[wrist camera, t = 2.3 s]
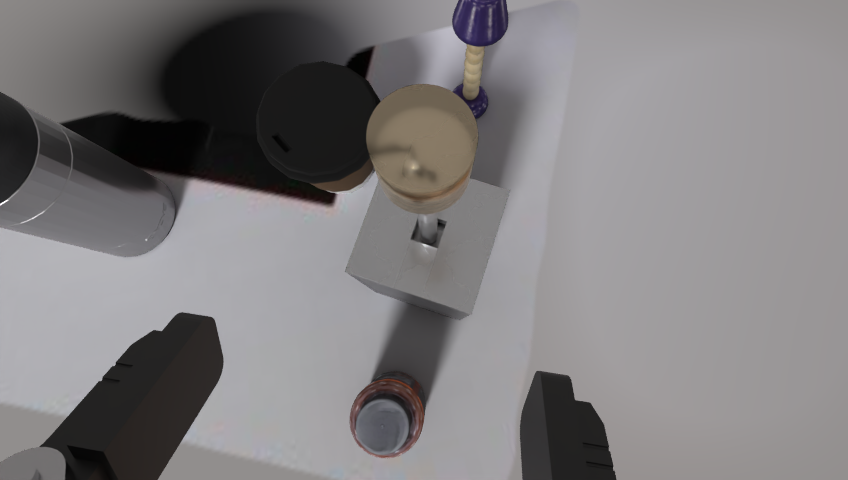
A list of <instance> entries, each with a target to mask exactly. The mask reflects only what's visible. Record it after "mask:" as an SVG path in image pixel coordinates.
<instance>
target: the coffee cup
mask: <svg viewBox="0 0 848 480" xmlns="http://www.w3.org/2000/svg"><path fill="white" fill-rule="evenodd" d="M379 103H380V100H379V98H378V96H377V95H376V93H375V92H374V90H373V88H372V87H371V85H370V83H369V82H368V81H367V80H366V79H364V78H363V77H361V76H360V75H359V74H357V73H356V72H354V71H353V70H351V69H350V68H347V67H345V66H341V65H336V64H333V63H328V62H324V61H322V62H315V63H307V64H300V65H298V66H296V67H294V68H293V69H291V70H289V71H287V72H285V73H283V74H281V75H280V76H279V77H278V78H277V79H276V80H275V81H274V82H273V83H272V84H271V86H270V87H269V88H268V89H267V90H266V91H265V93H264V95H263V98H262V101H261V103H260V106H259V109H258V112H257V116H256V126H257V141H258V143H259V144H260V146H261V148H262V150H263V152H264V154H265V156H266V157H267V159H268V161H269V162H270V163H271V164H272V165H273V166H275V167H276V168H277V169H279V170H280V171H281V172H282V173H284V174H285V175H286V176H288V177H289V178H292V179H296V180H300V181H304V182H308V183H310V184H312V185H314V186H316V187H318V188H319V189H323V190H327V191H329V192H333V193H337V194H345V193H352V192H354V191H356V190H358V189H360V188H361V187H363V186H364V185H365V184H366V182H367V181H368V180H369V179H370V178H371V175H372V172H373V169H374V166H373V163H372V160H371V158H370V155H369V152H368V148H367V142H366V132H367V126H368V122H369V119H370V117H371V115H372V113H373V111H374V110H375V108H376V107H377V105H378V104H379Z"/></svg>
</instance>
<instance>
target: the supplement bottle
mask: <svg viewBox="0 0 848 480" xmlns="http://www.w3.org/2000/svg"><path fill="white" fill-rule="evenodd" d="M424 415H425V396H424V393H423V390H422V388H421V386H420V385H419V383H418V382H417V381H416V380H415V379H414V378H413V377H412V376H410V375H408V374H406V373H403V372H395V371H394V372H388V373H384V374H382V375H380V376H379V377H377V378H376V379H375V380H373V381H372V382H371V383H370V384H369V385H368V386H367V387H365V388H364V389H363V390H362V391H361V392H360V393H359V395H358V396H357V398H356V399H355V401H354V403H353V405H352V409H351V413H350V428H351V432H352V435H353V437H354V439H355V441H356V443H357V444H358V445H359V446H360V447H361V448H362V449H363V450H364V451H366V452H367V453H368V454H370V455H373V456H375V457H380V458H392V457H396V456H399V455H401V454H403V453H405V452H406V451H408V450H409V449H410V448H411V447H412V446H413V445H414V444H415V443H416V441H417V440H418V438H419V436H420V434H421V431H422V427H423V422H424Z"/></svg>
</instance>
